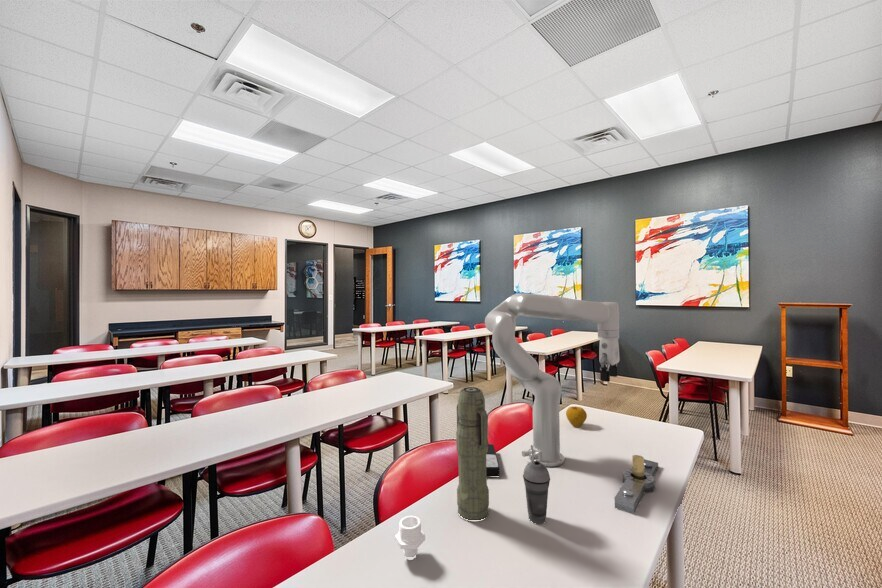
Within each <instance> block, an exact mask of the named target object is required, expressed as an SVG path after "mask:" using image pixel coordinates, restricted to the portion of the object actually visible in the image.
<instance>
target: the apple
mask: <svg viewBox="0 0 882 588" xmlns="http://www.w3.org/2000/svg"><path fill="white" fill-rule="evenodd" d="M565 415H566V418H567V420H568V422H569V423H570V424H571V425H572V426H573V427H574V428H580V427H581V426H583V425H584V423H585V422H586V420H587V417H588V414H587V411H586V410H585V409H584V408H582V407H580V406H569V407H568V408H567V409H566V412H565Z"/></svg>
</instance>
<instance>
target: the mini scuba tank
mask: <svg viewBox="0 0 882 588" xmlns="http://www.w3.org/2000/svg"><path fill="white" fill-rule="evenodd" d="M530 449H531V451H532V459H533V461H530V462H528V463H527V464H526V465H525V466H524V467H525V468H524V470H523V474H522V478H523V483H524V489H525V497H526V499H525V500H526V506H527V507H526V508H527V513H528V520H529V519H530V520H529V522H531V521H532V522H533V524H534V523H536V524H535V525H543V524H545V523H546V520H547V519H546V518H547V513H548V512H547V510H548V498H549V488H550V482H551V476H550V473H549V469H548V467H547V466H545V465H544V464H542V463H541V462H538V461H535V460H534V453H533V444H531V445H530ZM532 522H531V523H532ZM544 522H545V523H544Z"/></svg>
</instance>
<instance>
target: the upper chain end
mask: <svg viewBox="0 0 882 588" xmlns="http://www.w3.org/2000/svg"><path fill="white" fill-rule="evenodd" d="M623 479H624V480H625V482H624V483H623V484H622V485H621V487H620V488H619V490H618V491H617V493H616V494H615V497H614V508H615V509H616V508H617V510H620V511H623V512H625V513H629V514H632V515H635V514H634V513H636V512H637V509H638V508H639V506H640V504H641V502H642V500H643V498H644V496H645V493H644V489H645V488H650V487H653V486H654V484H655V485H656V479H655V476H654V477H653V476H652V475H650V474H649V473H647V472H644V480H639V479H635V478H633V468H632V469H625V470H624V471H623V473H622V480H623Z"/></svg>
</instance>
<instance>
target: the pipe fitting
mask: <svg viewBox="0 0 882 588" xmlns="http://www.w3.org/2000/svg"><path fill="white" fill-rule="evenodd" d="M398 522H399V524H398V532H397V533H396V534H395V536H394V538H395V539H394V540H395V541H396V543H397V545H398V547H399V548H400V549H401V550H403V557H404V556H406V557H414V556H415V555H417V556H418V548H419V547H420V546H421V545H422V544H423V543H424V542H425V541H426V534H425V533H424V531H423V530H422V520H421V519H420V518H419V517H418V516H415V515H407V516H404V517H402V518H401V519H400V520H399V521H398Z"/></svg>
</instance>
